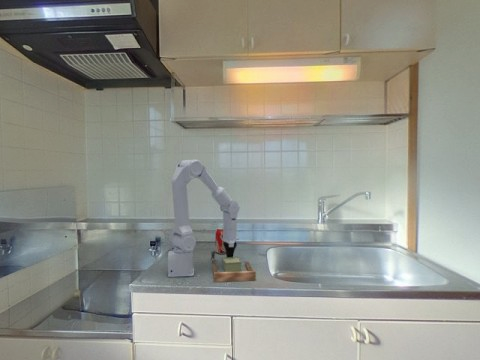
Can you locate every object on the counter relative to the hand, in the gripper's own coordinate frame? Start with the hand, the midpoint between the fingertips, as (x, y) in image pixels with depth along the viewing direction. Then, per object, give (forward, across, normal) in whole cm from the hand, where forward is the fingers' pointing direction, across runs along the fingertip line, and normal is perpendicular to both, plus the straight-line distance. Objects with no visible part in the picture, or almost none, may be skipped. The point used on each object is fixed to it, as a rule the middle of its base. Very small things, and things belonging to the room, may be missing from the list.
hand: (229, 259), depth 134 cm
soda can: (+2, +16, +2) cm, 16 cm away
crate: (+2, -8, 0) cm, 9 cm away
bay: (+1, -12, 0) cm, 12 cm away
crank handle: (+1, +4, +7) cm, 8 cm away
